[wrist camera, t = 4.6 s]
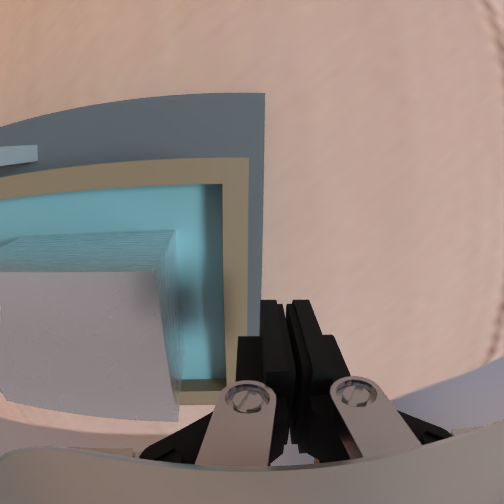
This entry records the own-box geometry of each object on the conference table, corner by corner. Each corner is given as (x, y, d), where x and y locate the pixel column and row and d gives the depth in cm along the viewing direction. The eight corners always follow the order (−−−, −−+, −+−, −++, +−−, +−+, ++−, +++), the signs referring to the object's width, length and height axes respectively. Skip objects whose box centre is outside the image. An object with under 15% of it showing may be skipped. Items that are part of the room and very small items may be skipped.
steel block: (45, 343, 14) (6, 400, 9) (21, 236, 12) (-41, 271, 8) (184, 349, 15) (177, 421, 10) (175, 229, 13) (155, 271, 9)
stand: (-37, 329, 24) (-81, 367, 15) (-67, 154, 18) (-128, 166, 10) (258, 368, 24) (261, 456, 16) (264, 96, 18) (274, 54, 10)
